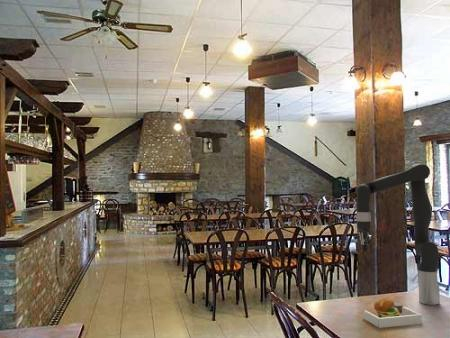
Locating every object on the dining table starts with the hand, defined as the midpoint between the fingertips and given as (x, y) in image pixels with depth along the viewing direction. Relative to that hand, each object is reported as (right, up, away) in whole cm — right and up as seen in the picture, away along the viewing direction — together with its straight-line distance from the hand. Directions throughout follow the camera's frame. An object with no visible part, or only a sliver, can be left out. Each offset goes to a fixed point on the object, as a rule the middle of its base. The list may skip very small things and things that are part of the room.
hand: (364, 251), depth 216 cm
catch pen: (+1, -26, -34) cm, 42 cm away
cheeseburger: (+1, -26, -29) cm, 39 cm away
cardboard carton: (+10, -26, -18) cm, 33 cm away
